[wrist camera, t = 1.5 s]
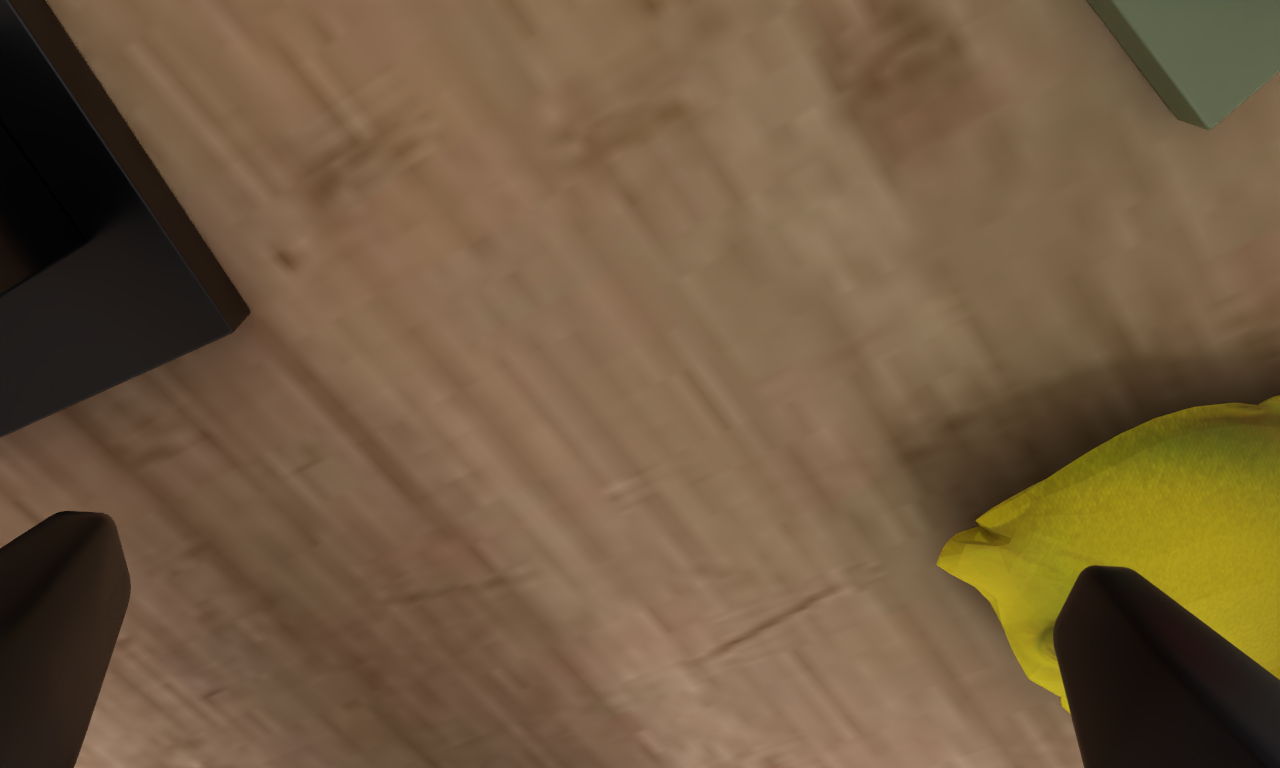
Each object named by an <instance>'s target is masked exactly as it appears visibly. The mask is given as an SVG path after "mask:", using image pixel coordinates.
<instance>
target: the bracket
mask: <svg viewBox="0 0 1280 768" xmlns="http://www.w3.org/2000/svg"><path fill="white" fill-rule="evenodd" d="M250 313H251V312H250V310H249V308H248V307H247V305H246V304H245V302H244V301H243V299H242V298H241V296H240V295H239V293H238V292H237V290H236V289H235V287H234V286H233V284H232V283H231V281H230V280H229V278H228V277H227V275H226V274H225V272H224V270H223V269H222V267H221V266H220V264H219V263H218V261H217V260H216V258H215V257H214V255H213V254H212V252H211V251H210V249H209V248H208V246H207V245H206V243H205V242H204V240H203V239H202V237H201V236H200V234H199V233H198V231H197V230H196V228H195V227H194V225H193V224H192V222H191V221H190V219H189V218H188V216H187V215H186V213H185V212H184V210H183V209H182V207H181V206H180V204H179V202H178V201H177V199H176V198H175V196H174V195H173V193H172V192H171V190H170V189H169V187H168V186H167V184H166V183H165V181H164V180H163V178H162V177H161V175H160V174H159V172H158V171H157V169H156V168H155V166H154V165H153V163H152V162H151V160H150V159H149V157H148V156H147V154H146V153H145V151H144V150H143V148H142V147H141V145H140V144H139V142H138V141H137V139H136V138H135V136H134V134H133V133H132V131H131V130H130V128H129V127H128V125H127V124H126V122H125V121H124V119H123V118H122V116H121V115H120V113H119V112H118V110H117V109H116V107H115V106H114V104H113V103H112V101H111V100H110V98H109V97H108V95H107V94H106V92H105V91H104V89H103V88H102V86H101V85H100V83H99V82H98V80H97V79H96V77H95V76H94V74H93V73H92V71H91V70H90V68H89V66H88V65H87V63H86V62H85V60H84V59H83V57H82V56H81V54H80V53H79V51H78V50H77V48H76V47H75V45H74V44H73V42H72V41H71V39H70V38H69V36H68V35H67V33H66V32H65V30H64V29H63V27H62V26H61V24H60V23H59V21H58V20H57V18H56V17H55V15H54V14H53V12H52V11H51V9H50V8H49V6H48V5H47V3H46V1H45V0H0V438H1V437H3V436H5V435H8V434H10V433H12V432H14V431H16V430H19V429H21V428H23V427H25V426H27V425H30V424H32V423H34V422H36V421H39V420H41V419H43V418H45V417H47V416H50V415H52V414H54V413H56V412H59V411H61V410H63V409H65V408H67V407H70V406H72V405H74V404H76V403H78V402H81V401H83V400H85V399H87V398H90V397H92V396H94V395H96V394H98V393H101V392H103V391H105V390H107V389H110V388H112V387H114V386H116V385H118V384H121V383H123V382H125V381H127V380H129V379H132V378H134V377H136V376H138V375H141V374H143V373H145V372H147V371H149V370H152V369H154V368H156V367H158V366H161V365H163V364H165V363H167V362H169V361H172V360H174V359H176V358H178V357H180V356H183V355H185V354H187V353H189V352H192V351H194V350H196V349H198V348H200V347H203V346H205V345H207V344H209V343H212V342H214V341H216V340H218V339H220V338H223V337H225V336H227V335H229V334H231V333H233V332H234V331H235V330H236V329H237V328H238V326H239V325H240V324H241V323H242V322H243V321H244V320H245V319H246V318H247V317H248V316H249V314H250Z"/></svg>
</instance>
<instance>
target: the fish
mask: <svg viewBox="0 0 1280 768" xmlns="http://www.w3.org/2000/svg"><path fill="white" fill-rule="evenodd" d="M976 522H977V523H978V525H979V526H978V527H975V528H972V529H969V530H965V531H962V532H959V533H957V534H956V535H954V536H953V537H952V538H951V539H949V540H948V542H947V543H946V544H945V546H944V547H943V549H942V551H941V554H940V556H939V558H938V562H937V566H939V567H940V568H942V569H943V570H945V571H947V572H948V573H950V574H951V575H953V576H955V577H957V578H959V579H961V580H963V581H965V582H967V583H969V584H970V585H972V586H974V587H975V588H976V589H977V590H978V591H979V592H980V593H981V594H982V595H983V596H984V597H985V598H986V599H987V600H989V601H990V603H991V605H992V607H993V609H994V611H995V613H996V615H997V617H998V618H999V620H1000V622H1001V624H1002V626H1003V629H1004V631H1005V634H1006V636H1007V638H1008V641H1009V643H1010V646H1011V648H1012V651H1013V653H1014V655H1015V656H1016V658H1017V660H1018V662H1019V663H1020V665H1021V667H1022V669H1023V670H1024V672H1025V674H1026V676H1027V678H1028V679H1029V680H1031V681H1033V682H1035V683H1037V684H1038V685H1040V686H1042V687H1044V688H1045V689H1047V690H1049V691H1051V692H1052V693H1054V694H1056V695H1058V696H1059V697H1060V702H1061V706H1062V707H1063V708H1064V709H1065V710H1067V711H1068V712H1069V713H1070V709H1069V705H1068V701H1067V697H1066V693H1065V689H1064V685H1063V681H1062V677H1061V673H1060V669H1059V665H1058V661H1057V657H1056V653H1055V649H1054V644H1053V629H1054V625H1055V621H1056V619H1057V617H1058V615H1059V613H1060V611H1061V609H1062V607H1063V605H1064V603H1065V601H1066V599H1067V597H1068V595H1069V593H1070V591H1071V589H1072V587H1073V585H1074V583H1075V581H1076V579H1077V577H1078V576H1079V574H1080V573H1081V571H1082V570H1084V569H1085V568H1086V567H1088V566H1092V565H1100V566H1119V567H1127V568H1130V569H1132V570H1134V571H1136V572H1137V573H1139V574H1140V575H1142V576H1143V577H1144V578H1146V579H1147V580H1148V581H1150V582H1151V583H1152V584H1154V585H1155V586H1156V587H1158V588H1159V589H1160V590H1161V591H1163V592H1164V593H1165V594H1167V595H1168V596H1169V597H1171V598H1172V599H1173V600H1175V601H1176V602H1177V603H1179V604H1180V605H1181V606H1183V607H1184V608H1185V609H1187V610H1188V611H1189V612H1191V613H1192V614H1193V615H1195V616H1196V617H1197V618H1199V619H1200V620H1201V621H1203V622H1204V623H1205V624H1207V625H1208V626H1209V627H1211V628H1212V629H1213V630H1214V631H1216V632H1217V633H1218V634H1220V635H1221V636H1222V637H1224V638H1225V639H1226V640H1228V641H1229V642H1230V643H1232V644H1233V645H1234V646H1236V647H1237V648H1238V649H1240V650H1241V651H1242V652H1244V653H1245V654H1246V655H1248V656H1249V657H1250V658H1252V659H1253V660H1254V661H1256V662H1257V663H1258V664H1260V665H1261V666H1262V667H1264V668H1265V669H1266V670H1267V671H1269V672H1270V673H1271V674H1273V675H1274V676H1275V677H1277V678H1278V679H1279V680H1280V395H1278V396H1274V397H1271V398H1269V399H1267V400H1265V401H1263V402H1261V403H1259V404H1258V405H1253V404H1245V403H1236V402H1235V403H1225V404H1216V405H1207V406H1198V407H1192V408H1188V409H1185V410H1181V411H1178V412H1174V413H1171V414H1167V415H1164V416H1161V417H1157V418H1154V419H1152V420H1150V421H1147V422H1145V423H1143V424H1141V425H1139V426H1136V427H1134V428H1132V429H1130V430H1128V431H1126V432H1123V433H1121V434H1119V435H1117V436H1115V437H1114V438H1112V439H1110V440H1108V441H1107V442H1105V443H1103V444H1101V445H1100V446H1098V447H1096V448H1094V449H1093V450H1091V451H1089V452H1087V453H1086V454H1084V455H1083V456H1081V457H1079V458H1078V459H1076V460H1075V461H1073V462H1072V463H1070V464H1068V465H1067V466H1065V467H1064V468H1062V469H1061V470H1059V471H1058V472H1056V473H1055V474H1053V475H1052V476H1050V477H1049V478H1047V479H1045V480H1042V481H1040V482H1038V483H1036V484H1034V485H1032V486H1031V487H1029V488H1027V489H1025V490H1023V491H1021V492H1019V493H1018V494H1016V495H1014V496H1012V497H1011V498H1009V499H1007V500H1005V501H1004V502H1002V503H1000V504H998V505H997V506H995V507H993V508H992V509H990V510H989V511H987V512H986V513H984V514H983V515H982V516H980V517H979V518H978V519H977V520H976ZM1070 714H1071V713H1070Z"/></svg>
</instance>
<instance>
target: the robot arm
mask: <svg viewBox="0 0 1280 768" xmlns="http://www.w3.org/2000/svg"><path fill="white" fill-rule="evenodd" d="M130 590H131V583H130V576H129V572H128V568H127V564H126V561H125V557H124V553H123V550H122V546H121V542H120V538H119V535H118V531H117V527H116V525H115V522H114V521H113V519H112V518H111V517H110V516H109V515H107V514H104V513H96V512H77V511H63V512H59V513H56V514H54V515H52V516H50V517H48V518H47V519H45V520H44V521H42V522H41V523H39V524H38V525H36V526H34V527H33V528H31V529H30V530H28V531H27V532H25V533H24V534H22V535H20V536H19V537H17V538H16V539H14V540H13V541H11V542H10V543H8V544H7V545H5V546H3V547H2V548H0V768H74V766H75V763H76V761H77V758H78V755H79V752H80V749H81V747H82V744H83V741H84V738H85V735H86V732H87V729H88V726H89V723H90V720H91V717H92V714H93V711H94V708H95V705H96V702H97V699H98V696H99V693H100V689H101V686H102V683H103V680H104V677H105V674H106V671H107V668H108V665H109V662H110V659H111V656H112V653H113V650H114V647H115V644H116V641H117V637H118V634H119V631H120V628H121V625H122V622H123V619H124V616H125V613H126V610H127V607H128V603H129V598H130ZM1053 644H1054V649H1055V653H1056V657H1057V661H1058V665H1059V669H1060V673H1061V677H1062V681H1063V685H1064V689H1065V693H1066V697H1067V701H1068V705H1069V709H1070V713H1071V717H1072V721H1073V725H1074V729H1075V733H1076V737H1077V741H1078V745H1079V749H1080V753H1081V757H1082V761H1083V765H1084V768H1280V680H1279V679H1278V678H1277V677H1275V676H1274V675H1273V674H1271V673H1270V672H1269V671H1267V670H1266V669H1265V668H1264V667H1262V666H1261V665H1260V664H1258V663H1257V662H1256V661H1254V660H1253V659H1252V658H1250V657H1249V656H1248V655H1246V654H1245V653H1244V652H1242V651H1241V650H1240V649H1238V648H1237V647H1236V646H1234V645H1233V644H1232V643H1230V642H1229V641H1228V640H1226V639H1225V638H1224V637H1222V636H1221V635H1220V634H1218V633H1217V632H1216V631H1214V630H1213V629H1212V628H1211V627H1209V626H1208V625H1207V624H1205V623H1204V622H1203V621H1201V620H1200V619H1199V618H1197V617H1196V616H1195V615H1193V614H1192V613H1191V612H1189V611H1188V610H1187V609H1185V608H1184V607H1183V606H1181V605H1180V604H1179V603H1177V602H1176V601H1175V600H1173V599H1172V598H1171V597H1169V596H1168V595H1167V594H1165V593H1164V592H1163V591H1161V590H1160V589H1159V588H1158V587H1156V586H1155V585H1154V584H1152V583H1151V582H1150V581H1148V580H1147V579H1146V578H1144V577H1143V576H1142V575H1140V574H1139V573H1137V572H1136V571H1134V570H1132V569H1130V568H1127V567H1119V566H1100V565H1092V566H1088V567H1086V568H1085V569H1084V570H1082V571H1081V573H1080V574H1079V576H1078V577H1077V579H1076V581H1075V583H1074V585H1073V587H1072V589H1071V591H1070V593H1069V595H1068V597H1067V599H1066V601H1065V603H1064V605H1063V607H1062V609H1061V611H1060V613H1059V615H1058V617H1057V619H1056V621H1055V625H1054V629H1053Z"/></svg>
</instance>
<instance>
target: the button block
mask: <svg viewBox="0 0 1280 768" xmlns="http://www.w3.org/2000/svg"><path fill="white" fill-rule="evenodd" d="M1087 1H1088V2H1089V4H1090V5H1091V6H1092V8H1093V9H1094V10H1095V12H1096V13H1097V14H1098V15H1099V17H1100V18H1101V19H1102V21H1103V22H1104V23H1105V25H1106V26H1107V27H1108V29H1109V30H1110V31H1111V33H1112V34H1113V35H1114V36H1115V38H1116V39H1117V40H1118V42H1119V43H1120V44H1121V46H1122V47H1123V48H1124V50H1125V51H1126V52H1127V54H1128V55H1129V56H1130V58H1131V59H1132V60H1133V61H1134V63H1135V64H1136V65H1137V67H1138V68H1139V69H1140V71H1141V72H1142V73H1143V75H1144V76H1145V77H1146V79H1147V80H1148V81H1149V82H1150V84H1151V85H1152V86H1153V88H1154V89H1155V90H1156V92H1157V93H1158V94H1159V96H1160V97H1161V98H1162V100H1163V101H1164V102H1165V104H1166V105H1167V106H1168V107H1169V109H1170V110H1171V111H1172V113H1173V114H1174V115H1175V117H1176V118H1177V119H1178V120H1180V121H1183V122H1186V123H1189V124H1192V125H1195V126H1198V127H1201V128H1204V129H1207V130H1210V129H1212V128H1213V127H1214V126H1215V125H1217V124H1218V123H1219V122H1220V121H1221V120H1223V119H1224V118H1225V117H1226V116H1227V115H1228V114H1230V113H1231V112H1232V111H1233V110H1234V109H1236V108H1237V107H1238V106H1239V105H1240V104H1241V103H1243V102H1244V101H1245V100H1246V99H1247V98H1249V97H1250V96H1251V95H1252V94H1253V93H1254V92H1256V91H1257V90H1258V89H1259V88H1260V87H1261V86H1263V85H1264V84H1265V83H1266V82H1267V81H1269V80H1270V79H1271V78H1272V77H1273V76H1274V75H1276V74H1277V73H1278V72H1279V71H1280V0H1087Z"/></svg>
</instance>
